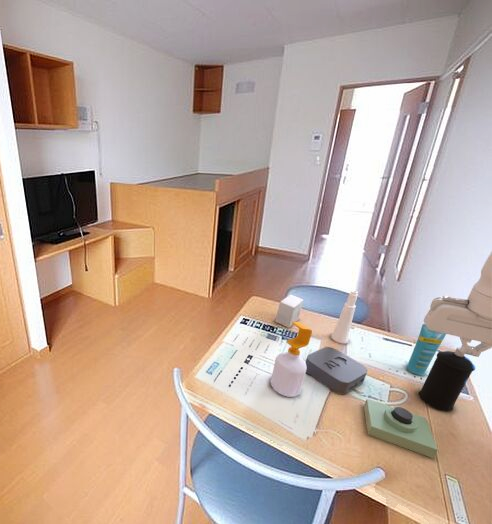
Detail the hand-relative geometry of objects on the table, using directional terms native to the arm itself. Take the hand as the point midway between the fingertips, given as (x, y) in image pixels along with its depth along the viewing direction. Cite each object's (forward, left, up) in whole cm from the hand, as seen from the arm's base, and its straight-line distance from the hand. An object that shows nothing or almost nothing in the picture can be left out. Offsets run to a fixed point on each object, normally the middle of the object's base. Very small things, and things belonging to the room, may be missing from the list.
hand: (468, 353), depth 75 cm
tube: (-3, -29, -27) cm, 40 cm away
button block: (+8, +4, -27) cm, 29 cm away
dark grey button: (+8, +4, -23) cm, 24 cm away
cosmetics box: (+40, -41, -27) cm, 63 cm away
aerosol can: (-5, -15, -27) cm, 32 cm away
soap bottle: (+37, +2, -27) cm, 46 cm away
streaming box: (+23, -12, -27) cm, 38 cm away
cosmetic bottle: (+20, -37, -27) cm, 50 cm away
